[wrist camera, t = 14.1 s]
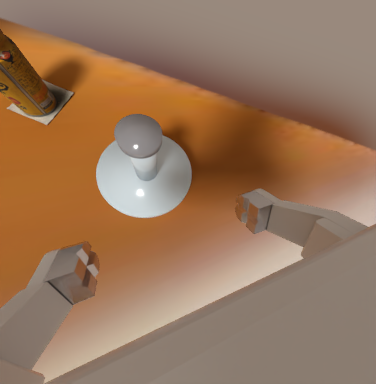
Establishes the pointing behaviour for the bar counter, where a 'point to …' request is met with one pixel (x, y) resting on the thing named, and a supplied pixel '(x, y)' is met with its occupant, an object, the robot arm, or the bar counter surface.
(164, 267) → the bar counter surface
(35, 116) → the condiment
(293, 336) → the robot arm
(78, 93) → the bar counter surface
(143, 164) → the lid
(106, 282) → the bar counter surface
